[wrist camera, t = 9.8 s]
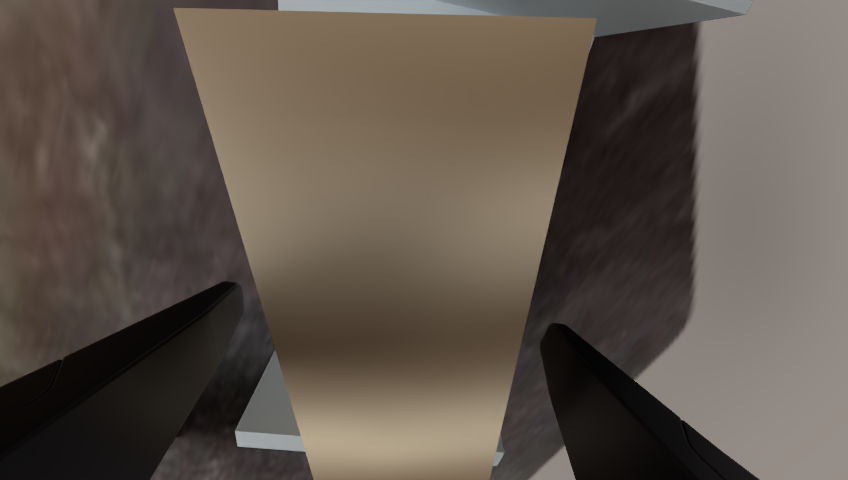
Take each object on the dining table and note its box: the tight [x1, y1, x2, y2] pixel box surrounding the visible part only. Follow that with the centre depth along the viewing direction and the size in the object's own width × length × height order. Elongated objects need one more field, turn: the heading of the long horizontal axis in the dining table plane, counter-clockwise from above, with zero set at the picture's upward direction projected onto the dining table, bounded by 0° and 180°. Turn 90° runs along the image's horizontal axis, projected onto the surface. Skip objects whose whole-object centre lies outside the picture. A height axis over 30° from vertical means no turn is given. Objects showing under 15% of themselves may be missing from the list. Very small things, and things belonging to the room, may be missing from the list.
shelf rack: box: [235, 0, 754, 466], centre depth 13 cm, size 19×12×8 cm, turn 170°
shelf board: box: [174, 8, 597, 480], centre depth 10 cm, size 14×6×4 cm, turn 179°
